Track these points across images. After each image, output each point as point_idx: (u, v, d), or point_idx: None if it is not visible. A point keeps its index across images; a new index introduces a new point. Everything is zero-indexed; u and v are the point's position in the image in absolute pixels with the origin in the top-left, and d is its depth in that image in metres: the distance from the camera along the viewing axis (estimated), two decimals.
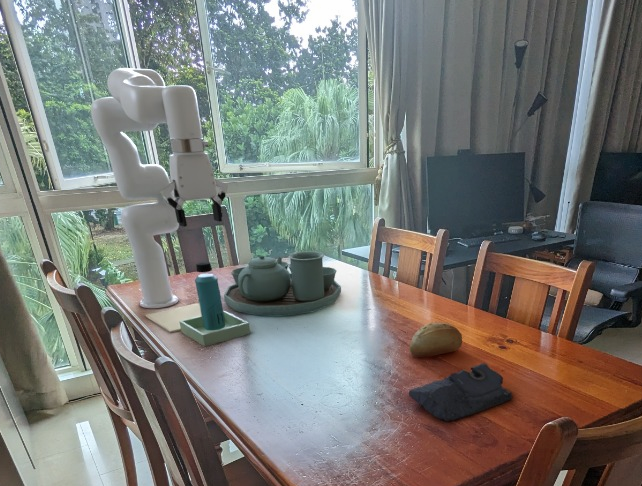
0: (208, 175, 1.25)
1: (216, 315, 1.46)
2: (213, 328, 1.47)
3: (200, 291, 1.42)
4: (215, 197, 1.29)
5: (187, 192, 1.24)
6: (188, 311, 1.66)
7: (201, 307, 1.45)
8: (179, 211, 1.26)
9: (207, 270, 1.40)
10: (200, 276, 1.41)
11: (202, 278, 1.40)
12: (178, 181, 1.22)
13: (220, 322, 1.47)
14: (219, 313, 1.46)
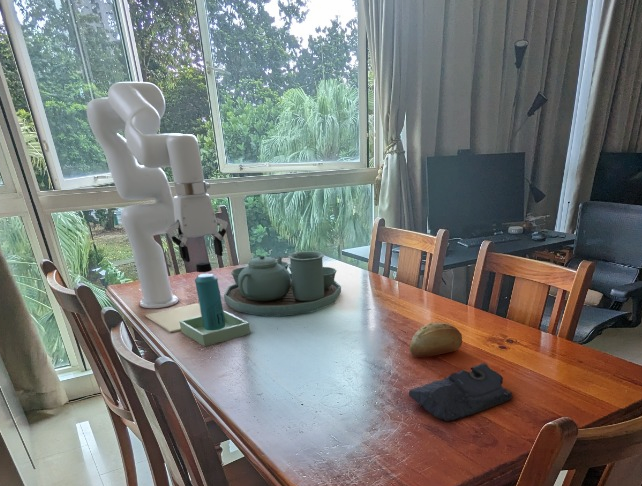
0: (209, 214, 1.34)
1: (216, 315, 1.46)
2: (213, 328, 1.47)
3: (200, 291, 1.42)
4: (216, 234, 1.38)
5: (190, 230, 1.33)
6: (188, 311, 1.66)
7: (201, 307, 1.45)
8: (182, 248, 1.34)
9: (207, 270, 1.40)
10: (200, 276, 1.41)
11: (202, 278, 1.40)
12: (182, 221, 1.30)
13: (220, 322, 1.47)
14: (219, 313, 1.46)
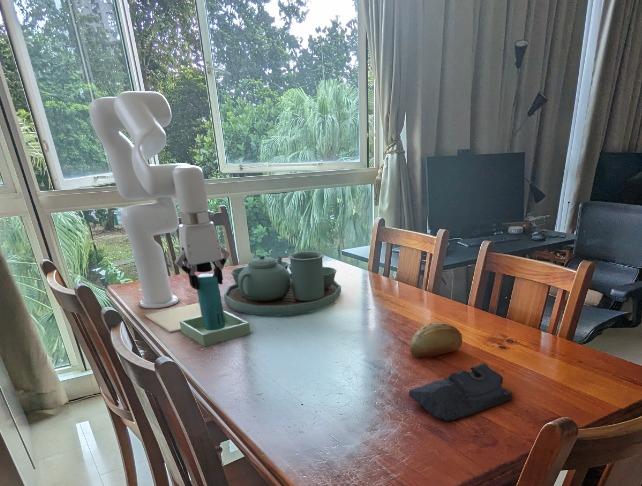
0: (214, 242, 1.38)
1: (216, 315, 1.46)
2: (213, 328, 1.47)
3: (200, 291, 1.42)
4: (217, 262, 1.42)
5: (195, 258, 1.36)
6: (188, 311, 1.66)
7: (201, 307, 1.45)
8: (192, 276, 1.39)
9: (207, 270, 1.40)
10: (200, 276, 1.41)
11: (202, 278, 1.40)
12: (187, 249, 1.34)
13: (220, 322, 1.47)
14: (219, 313, 1.46)
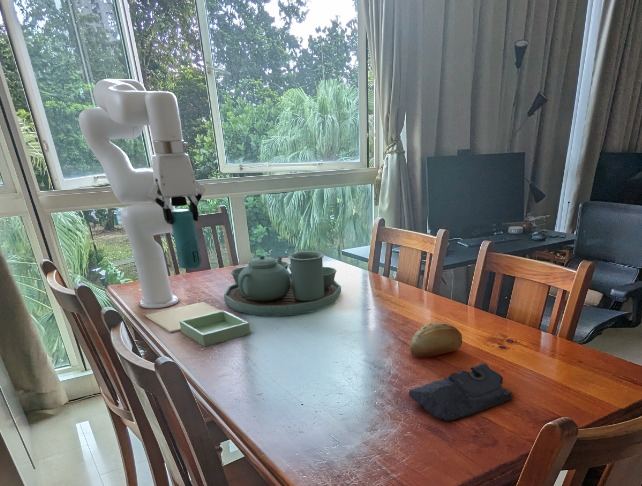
0: (188, 174, 1.35)
1: (191, 252, 1.43)
2: (188, 266, 1.45)
3: (175, 226, 1.40)
4: (192, 197, 1.39)
5: (169, 190, 1.34)
6: (188, 311, 1.66)
7: (176, 244, 1.43)
8: (166, 210, 1.37)
9: (182, 204, 1.38)
10: (175, 211, 1.39)
11: (177, 212, 1.38)
12: (160, 180, 1.32)
13: (196, 260, 1.45)
14: (195, 250, 1.44)
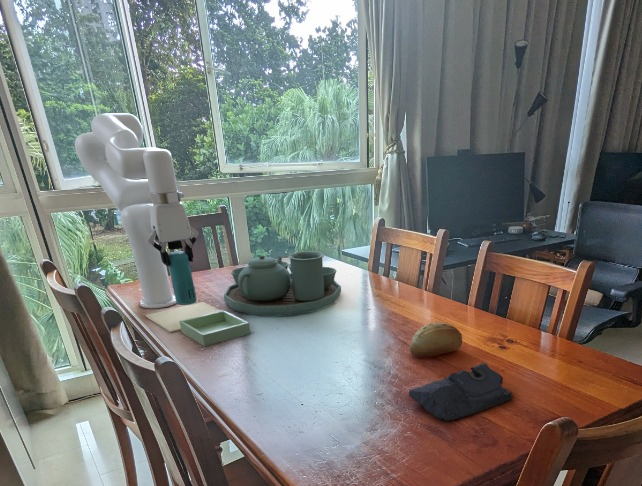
0: (183, 221, 1.48)
1: (187, 290, 1.56)
2: (184, 303, 1.57)
3: (171, 267, 1.52)
4: (187, 241, 1.52)
5: (166, 235, 1.47)
6: (188, 311, 1.66)
7: (173, 283, 1.55)
8: (163, 253, 1.49)
9: (178, 247, 1.50)
10: (171, 253, 1.51)
11: (173, 255, 1.50)
12: (157, 227, 1.44)
13: (191, 297, 1.57)
14: (190, 289, 1.56)
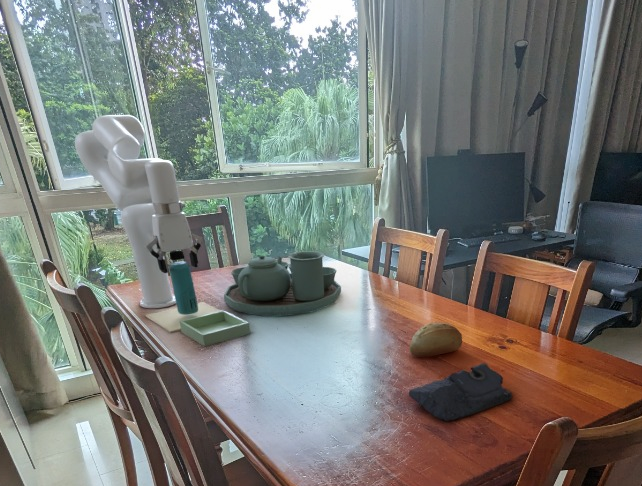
0: (185, 231, 1.49)
1: (189, 300, 1.57)
2: (186, 312, 1.59)
3: (173, 277, 1.54)
4: (191, 248, 1.53)
5: (167, 245, 1.48)
6: None
7: (175, 293, 1.57)
8: (161, 261, 1.50)
9: (179, 258, 1.52)
10: (173, 264, 1.53)
11: (175, 265, 1.52)
12: (159, 237, 1.46)
13: (193, 306, 1.59)
14: (192, 298, 1.58)
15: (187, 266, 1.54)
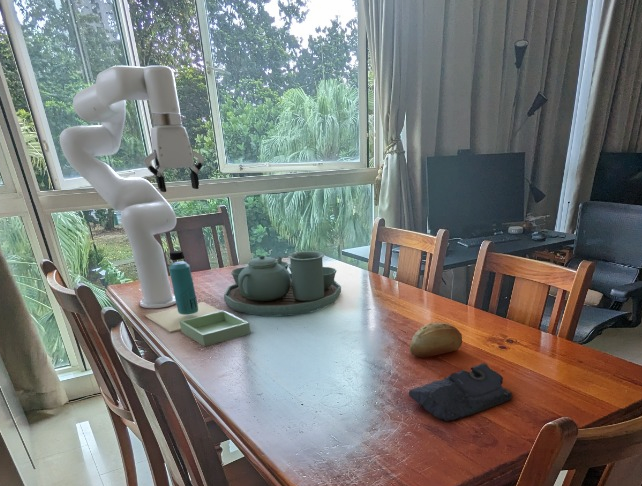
0: (185, 146, 1.42)
1: (189, 300, 1.57)
2: (186, 312, 1.59)
3: (173, 277, 1.54)
4: (192, 167, 1.46)
5: (167, 161, 1.41)
6: None
7: (175, 293, 1.57)
8: (159, 178, 1.43)
9: (179, 258, 1.52)
10: (173, 264, 1.53)
11: (175, 265, 1.52)
12: (158, 151, 1.39)
13: (193, 306, 1.59)
14: (192, 298, 1.58)
15: (187, 266, 1.54)
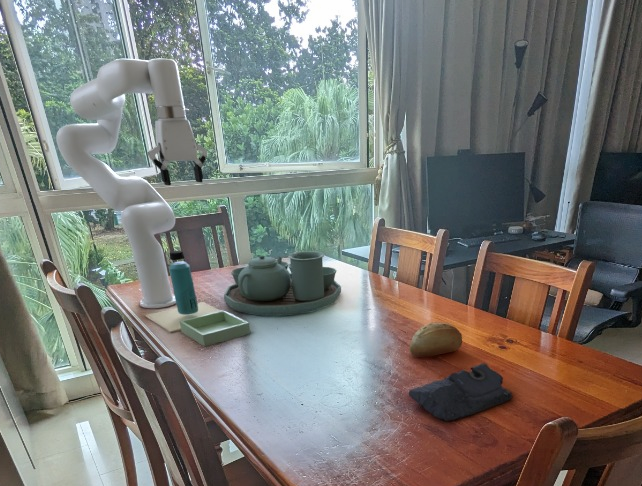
0: (189, 139, 1.42)
1: (189, 300, 1.57)
2: (186, 312, 1.59)
3: (173, 277, 1.54)
4: (196, 160, 1.46)
5: (171, 154, 1.41)
6: None
7: (175, 293, 1.57)
8: (164, 171, 1.43)
9: (179, 258, 1.52)
10: (173, 264, 1.53)
11: (175, 265, 1.52)
12: (163, 144, 1.39)
13: (193, 306, 1.59)
14: (192, 298, 1.58)
15: (187, 266, 1.54)
